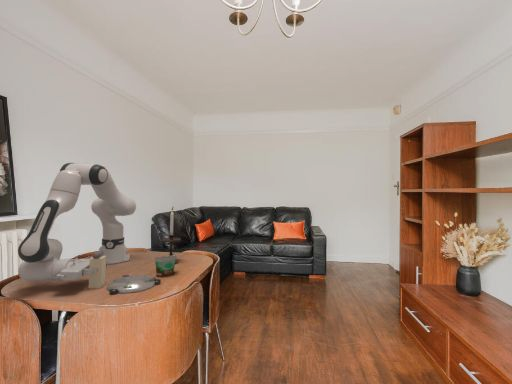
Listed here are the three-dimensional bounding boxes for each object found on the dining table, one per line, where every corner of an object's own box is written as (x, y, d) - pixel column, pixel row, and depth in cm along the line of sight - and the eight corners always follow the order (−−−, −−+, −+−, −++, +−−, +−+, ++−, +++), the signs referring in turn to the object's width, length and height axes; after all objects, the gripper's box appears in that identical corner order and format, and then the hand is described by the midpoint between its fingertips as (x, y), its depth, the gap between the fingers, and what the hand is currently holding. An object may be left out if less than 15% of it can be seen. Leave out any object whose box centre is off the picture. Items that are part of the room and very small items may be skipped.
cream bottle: (93, 284, 118) (94, 250, 118) (105, 283, 119) (106, 250, 119) (88, 289, 112) (89, 253, 112) (100, 288, 113) (101, 253, 113)
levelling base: (116, 278, 126) (116, 273, 126) (163, 276, 131) (163, 271, 131) (99, 295, 105) (100, 289, 105) (156, 292, 110) (157, 286, 110)
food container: (161, 279, 126) (162, 259, 127) (153, 277, 130) (154, 257, 130) (181, 273, 137) (181, 254, 137) (173, 271, 140) (173, 252, 140)
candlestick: (183, 262, 159) (185, 205, 160) (169, 266, 150) (170, 206, 150) (172, 259, 165) (173, 205, 165) (157, 263, 156) (159, 205, 156)
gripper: (52, 269, 102) (90, 267, 105) (75, 256, 122) (107, 256, 125) (51, 285, 102) (90, 283, 105) (75, 270, 122) (107, 268, 125)
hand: (99, 268), depth 116 cm, fingers closed on cream bottle, 5 cm apart
